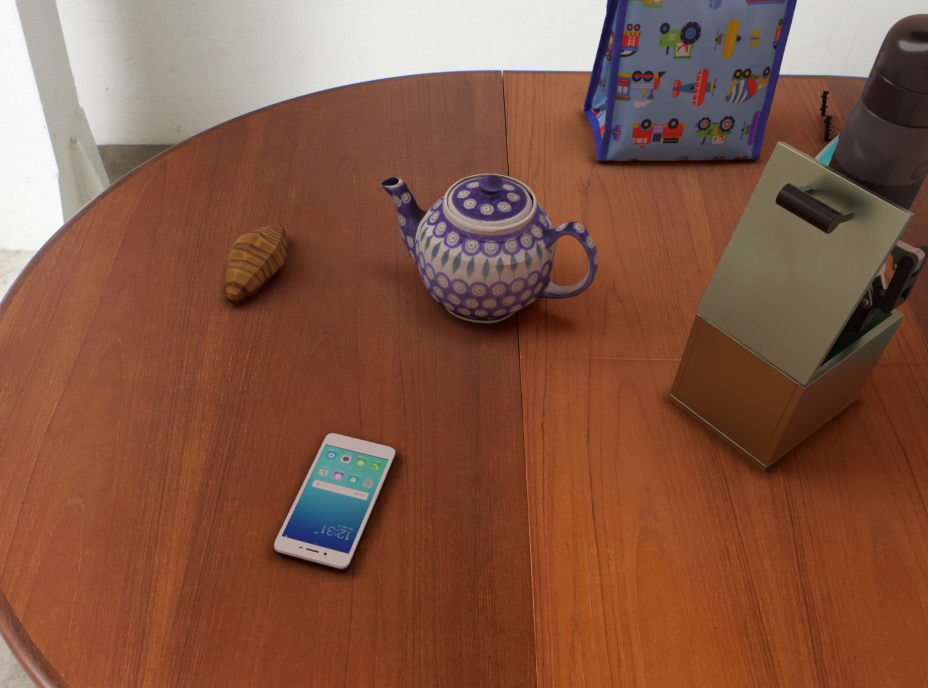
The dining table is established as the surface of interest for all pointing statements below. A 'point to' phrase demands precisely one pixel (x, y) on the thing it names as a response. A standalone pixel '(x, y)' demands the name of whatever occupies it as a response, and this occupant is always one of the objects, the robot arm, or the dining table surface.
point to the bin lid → (800, 261)
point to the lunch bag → (686, 78)
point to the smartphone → (335, 502)
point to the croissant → (254, 261)
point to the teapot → (486, 246)
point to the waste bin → (772, 387)
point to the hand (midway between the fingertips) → (813, 307)
